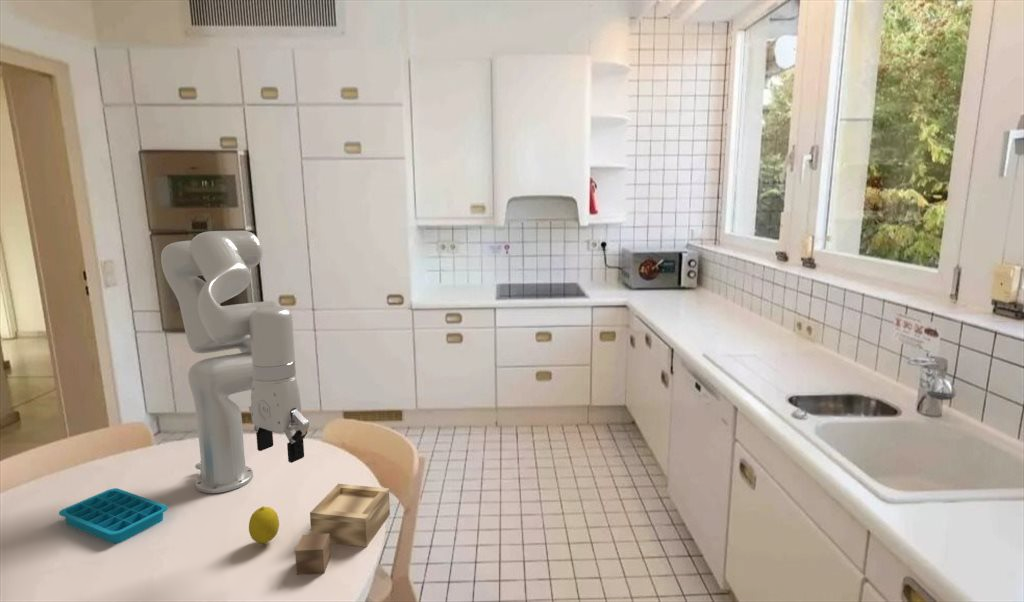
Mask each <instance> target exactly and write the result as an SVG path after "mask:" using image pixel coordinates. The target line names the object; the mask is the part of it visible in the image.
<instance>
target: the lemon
mask: <svg viewBox="0 0 1024 602" xmlns="http://www.w3.org/2000/svg"><path fill="white" fill-rule="evenodd" d="M279 527H280V520H279V515H278V513H277V512H276V510H275V509H273V508H272V507H270V506H260V507H259V508H257V509H256V510H255V511H254V512H253V513H252V515H251V516H250V518H249V521H248V532H249V535H250V538H251V539H252V540H253V541H254V542H255V543H259V544H263V545H265V544H268V543H269V542H270V541H272V540H273V539H274V538H275V537H276V536H277V534H278V532H279Z"/></svg>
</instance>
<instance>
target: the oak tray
mask: <svg viewBox="0 0 1024 602" xmlns="http://www.w3.org/2000/svg"><path fill="white" fill-rule="evenodd" d="M390 507H391V505H390V488H388V487H386V488H385V487H376V486H366V485H356V484H346V483H345V484H343V483H337V484H336V486H334V488H332V489H331V491H329V493H328V494H327V495H326V496H324V498H322V500H321V501H320V502H319V503H318V504H317V505H316V506H315V507H314V508H313V509H312V510H311V511H310V512H309V517H310V518H309V520H310V534H328V533H329V534H330V544H338V545H346V546H356V547H362V548H363V547H364V548H367V547H368V546H369V544H370V543H371V542H372V540H373V539H374V537H375V536H376V535H377V533H378V532H379V530H380V529H381V528H382V526H383V525H384V523H386V521H387V520H388V518H389V517H390V515H391V510H390V509H391V508H390Z"/></svg>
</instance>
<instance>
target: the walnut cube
mask: <svg viewBox="0 0 1024 602" xmlns="http://www.w3.org/2000/svg"><path fill="white" fill-rule="evenodd" d="M294 552H295V553H294V554H295V568H296V572H295V573H296V575H297V576H299V575H317V574H325V573H326V569H327V567H328V565H329V561H330V559H331V557H332V556H331V543H330V534H329V533H328V534H311V533H310V534H302V536H301V538H300V540H299V542H298V544H297V546H296V548H295V549H294Z"/></svg>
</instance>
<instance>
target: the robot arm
mask: <svg viewBox="0 0 1024 602" xmlns="http://www.w3.org/2000/svg"><path fill="white" fill-rule="evenodd" d="M262 258H263V247H262V244H261V242H260V239H259V237H257V236H256V235H255V234H254V233H253V232H250V231H248V230H212V231H208V230H207V231H204V232H201V233H198V234H196V235H195V236H194V237H193V238H192V239H191V240H182V241H181V240H180V241H175V242H171V243H170V244H168V245H166V246H164V247H163V249H162V250H161V254H160V260H161V267H162V271H163V274H164V277H165V279H166V281H167V283H168V285H169V287H170V289H171V291H172V292H173V293H174V295H175V297H176V299H177V301H178V304H179V309H180V314H181V319H182V323H183V328H184V331H185V335H186V336H185V337H186V340H187V343H188V346H189V348H190V349H191V351H192V352H194V353H196V354H211V353H216V352H217V353H218V352H223V351H229V350H230V351H231V350H235V349H236V350H237V349H238V350H239V351H240V352H239V353H234V354H233V353H232V354H224V355H221V356H214V357H210V358H209V357H208V358H205V359H201V360H199V361H196V362H195V363H193V364H192V366H190V368H189V370H188V374H187V376H188V377H187V378H188V385H189V387H190V391H191V394H192V398H193V402H194V407H195V415H196V423H197V424H196V425H197V434H198V443H199V445H198V446H199V455H200V456H199V457H200V463H199V462H198V463H196V464H195V466H194V467H195V469H197V470H200V471H199V472H200V476H199V477H198V478H196V481H195V489H196V490H198V491H199V492H201V493H206V494H220V493H225V492H230V491H233V490H236V489H238V488H239V489H240V487H243V486H245V485H247V484H248V483H249V482H250V481H251V480H252V478H253V476H254V473H253V472H254V471H253V469H252V468H251V467H249V466H246V458H245V457H246V456H245V445H244V444H245V443H244V433H243V432H244V431H243V419H242V411H241V409H240V407H239V405H238V404H237V403H236V402H234V401H233V400H232V399H230V397H229V396H231V395H234V394H236V393H242V392H246V391H247V392H248V391H251V392H250V394H251V395H250V406H248V410H249V413H250V415H251V422H252V424H253V425H254V427H253V429H254V431H255V432H256V433H255V435H256V446H257V448H256V449H257V451H259V452H262V451H265V450H266V449H270V448H271V447H273V446H274V437H273V436H274V435H273V433H275V434H280V435H281V434H284V435H285V436H286V438H287V440H288V442H287V443H286V445H287V446H286V447H287V448H286V449H287V459H288V460H287V461H288V463H294V462H297V461H299V460H301V459H304V457H305V448H304V439H305V438H306V436H307V434H308V430H309V427H310V422H309V420H308V419H307V418H306V417H305V416H303V413H302V404H301V403H302V402H301V397H300V396H301V395H300V391H299V385H298V381H297V372H296V371H297V369H296V368H297V367H296V357H295V356H296V355H295V340H294V326H293V314H292V312H291V310H289V309H288V308H287V307H283V306H281V305H280V304H279V303H277V302H275V301H270V300H269V301H268V300H267V301H257V302H247V303H238V304H237V303H236V304H229V305H221V304H222V303H224V302H227V301H228V300H230V299H232V298H234V297H236V296H238V295H240V294H241V293H242V292H244V291H245V290H246V289H247V287H249V285H250V283H251V279H252V275H251V271H250V269H252V268H255V267H257V265H259V264H260V263H261V260H262ZM199 276H202V277H203V278H204V280H203V279H201V278H200V277H199ZM292 431H295V433H294V434H293V433H292Z"/></svg>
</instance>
